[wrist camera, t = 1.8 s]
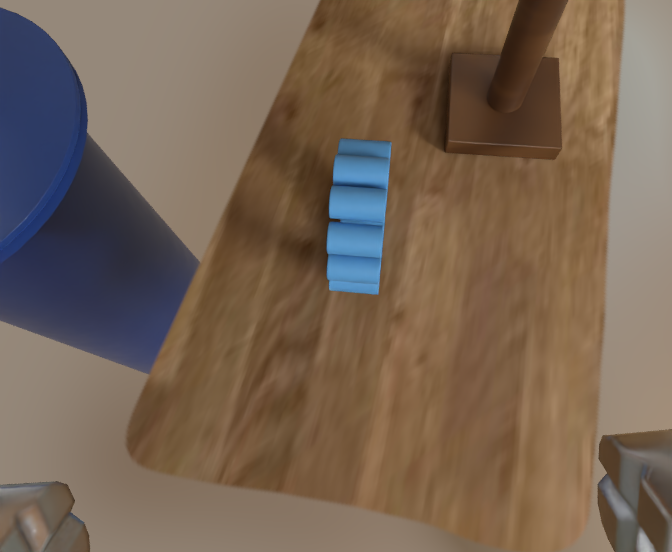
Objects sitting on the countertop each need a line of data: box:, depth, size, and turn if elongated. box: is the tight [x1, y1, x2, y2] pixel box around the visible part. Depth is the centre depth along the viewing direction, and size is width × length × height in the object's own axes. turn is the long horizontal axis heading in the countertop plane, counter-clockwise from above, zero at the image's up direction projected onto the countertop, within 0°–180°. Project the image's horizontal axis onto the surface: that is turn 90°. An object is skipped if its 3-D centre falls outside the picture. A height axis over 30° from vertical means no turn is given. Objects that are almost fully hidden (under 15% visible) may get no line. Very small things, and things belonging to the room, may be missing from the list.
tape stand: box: [445, 0, 568, 160], centre depth 32 cm, size 15×8×16 cm, turn 84°
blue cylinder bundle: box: [326, 138, 391, 295], centre depth 32 cm, size 9×3×9 cm, turn 174°
